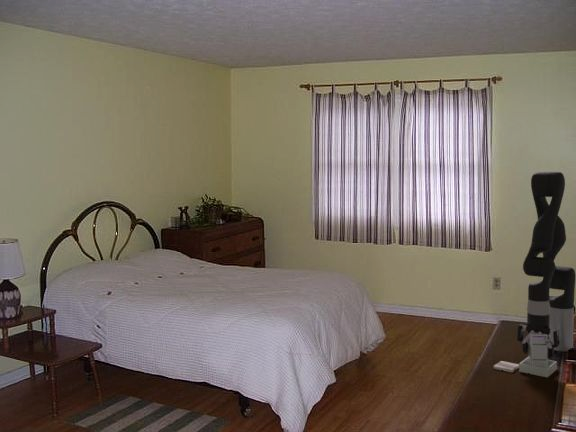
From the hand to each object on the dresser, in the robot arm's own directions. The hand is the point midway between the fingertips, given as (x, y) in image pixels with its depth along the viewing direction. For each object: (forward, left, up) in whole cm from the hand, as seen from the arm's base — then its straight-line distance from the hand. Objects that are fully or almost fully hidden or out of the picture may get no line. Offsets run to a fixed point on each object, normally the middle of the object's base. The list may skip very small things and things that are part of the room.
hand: (537, 355), depth 222 cm
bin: (0, 0, -6) cm, 6 cm away
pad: (+4, -10, -6) cm, 12 cm away
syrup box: (0, 0, -6) cm, 6 cm away
